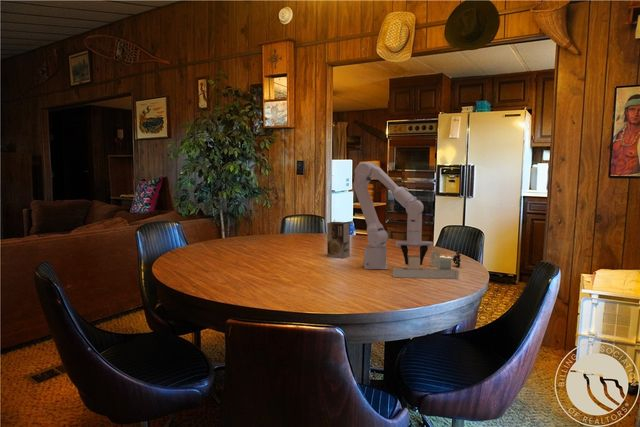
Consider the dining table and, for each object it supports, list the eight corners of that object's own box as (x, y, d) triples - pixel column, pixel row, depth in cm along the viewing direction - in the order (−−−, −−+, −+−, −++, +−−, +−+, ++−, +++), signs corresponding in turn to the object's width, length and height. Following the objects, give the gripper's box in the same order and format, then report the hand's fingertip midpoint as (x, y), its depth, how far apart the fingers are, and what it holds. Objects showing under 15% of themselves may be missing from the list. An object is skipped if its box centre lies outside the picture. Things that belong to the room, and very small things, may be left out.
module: (409, 273, 167) (409, 258, 166) (406, 270, 173) (407, 254, 173) (420, 273, 166) (421, 258, 166) (418, 270, 173) (418, 255, 172)
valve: (430, 267, 178) (460, 268, 176) (431, 251, 178) (460, 252, 176) (429, 264, 185) (457, 265, 183) (429, 249, 184) (458, 249, 182)
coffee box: (350, 256, 201) (350, 222, 199) (343, 258, 195) (343, 223, 194) (333, 254, 206) (333, 221, 204) (326, 256, 200) (326, 222, 199)
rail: (393, 277, 160) (393, 262, 160) (391, 272, 169) (391, 257, 168) (458, 279, 158) (459, 263, 158) (453, 273, 167) (453, 258, 166)
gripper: (397, 231, 166) (396, 266, 167) (434, 232, 165) (433, 266, 166) (395, 229, 173) (394, 262, 174) (431, 229, 172) (430, 263, 173)
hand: (413, 264), depth 170 cm, fingers open, 5 cm apart
